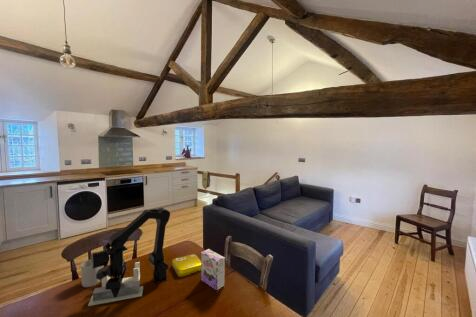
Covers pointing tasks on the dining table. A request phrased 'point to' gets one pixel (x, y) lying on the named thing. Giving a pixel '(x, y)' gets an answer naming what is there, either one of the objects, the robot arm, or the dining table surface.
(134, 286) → the rail
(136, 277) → the rack
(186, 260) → the element tile
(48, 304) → the dining table surface
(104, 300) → the mat
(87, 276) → the mug
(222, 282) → the candy box
